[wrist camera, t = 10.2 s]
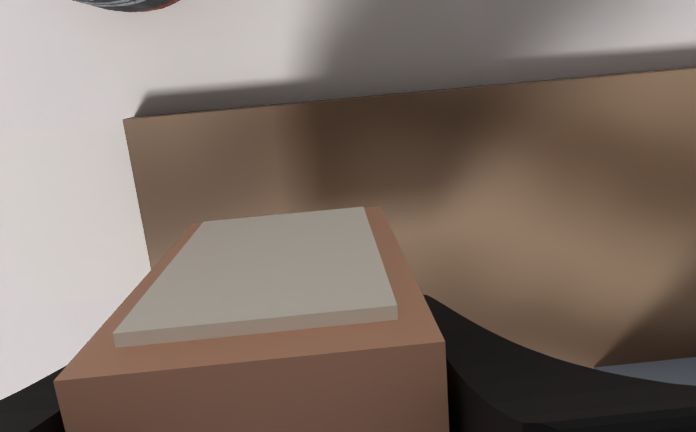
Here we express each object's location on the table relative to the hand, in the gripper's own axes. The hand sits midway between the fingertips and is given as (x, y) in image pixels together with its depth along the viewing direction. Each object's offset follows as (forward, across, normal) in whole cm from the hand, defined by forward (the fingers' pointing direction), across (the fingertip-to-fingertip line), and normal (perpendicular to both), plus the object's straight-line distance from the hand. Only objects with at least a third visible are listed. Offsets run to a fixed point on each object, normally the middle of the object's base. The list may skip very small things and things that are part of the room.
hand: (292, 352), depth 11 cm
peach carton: (+2, 0, 0) cm, 2 cm away
